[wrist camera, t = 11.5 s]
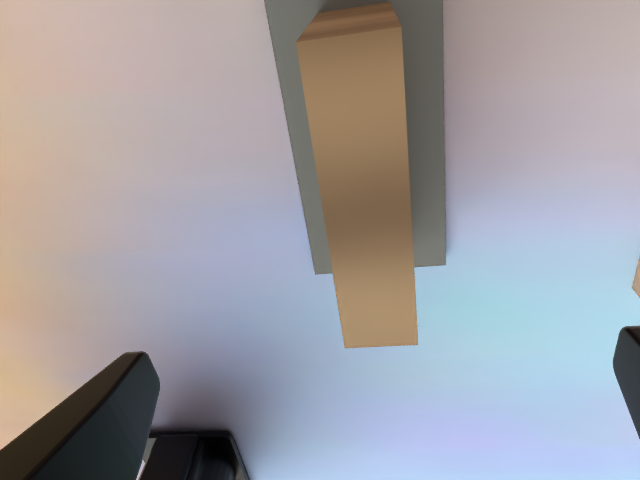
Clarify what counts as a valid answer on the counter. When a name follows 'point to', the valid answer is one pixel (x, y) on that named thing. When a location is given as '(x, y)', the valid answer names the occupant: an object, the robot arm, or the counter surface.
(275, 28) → the mat
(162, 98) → the counter surface
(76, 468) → the robot arm
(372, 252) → the tan long block
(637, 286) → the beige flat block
